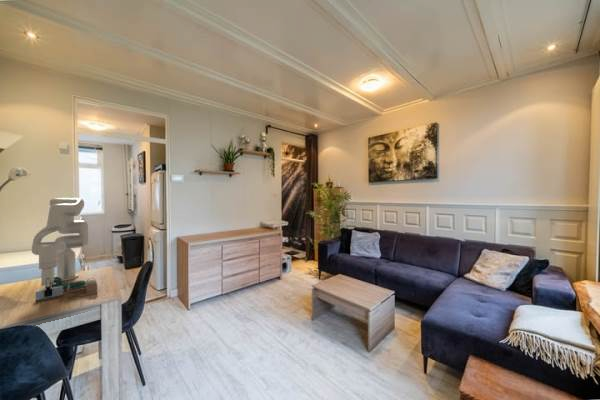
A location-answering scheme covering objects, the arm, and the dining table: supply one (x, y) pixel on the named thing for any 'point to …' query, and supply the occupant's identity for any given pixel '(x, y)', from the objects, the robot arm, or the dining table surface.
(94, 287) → the dispenser
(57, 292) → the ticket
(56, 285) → the dark green elongated piece
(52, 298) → the mat
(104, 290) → the dining table surface
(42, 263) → the robot arm
